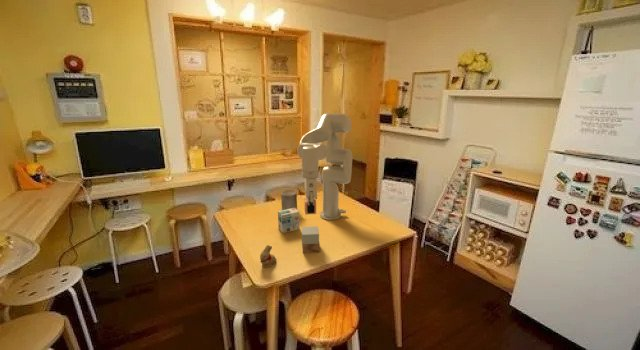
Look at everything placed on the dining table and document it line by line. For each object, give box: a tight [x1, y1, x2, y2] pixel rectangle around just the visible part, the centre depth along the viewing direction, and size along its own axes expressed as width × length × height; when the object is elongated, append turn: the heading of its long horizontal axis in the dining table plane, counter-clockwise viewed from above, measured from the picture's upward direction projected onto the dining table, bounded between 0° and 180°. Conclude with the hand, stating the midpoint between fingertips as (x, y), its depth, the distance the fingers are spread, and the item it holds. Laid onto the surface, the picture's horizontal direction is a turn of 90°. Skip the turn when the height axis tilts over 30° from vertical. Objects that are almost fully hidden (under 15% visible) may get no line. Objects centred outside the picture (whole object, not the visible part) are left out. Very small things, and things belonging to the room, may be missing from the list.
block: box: [304, 198, 317, 215], centre depth 135 cm, size 5×5×6 cm
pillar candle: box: [280, 189, 298, 210], centre depth 180 cm, size 10×10×15 cm
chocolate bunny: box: [259, 244, 277, 269], centre depth 127 cm, size 6×8×10 cm
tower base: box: [301, 242, 321, 254], centre depth 140 cm, size 8×8×5 cm
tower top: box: [301, 226, 320, 245], centre depth 139 cm, size 8×8×5 cm
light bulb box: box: [277, 208, 300, 234], centre depth 159 cm, size 11×7×11 cm, turn 117°
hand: (310, 210), depth 135 cm, fingers closed on block, 5 cm apart
